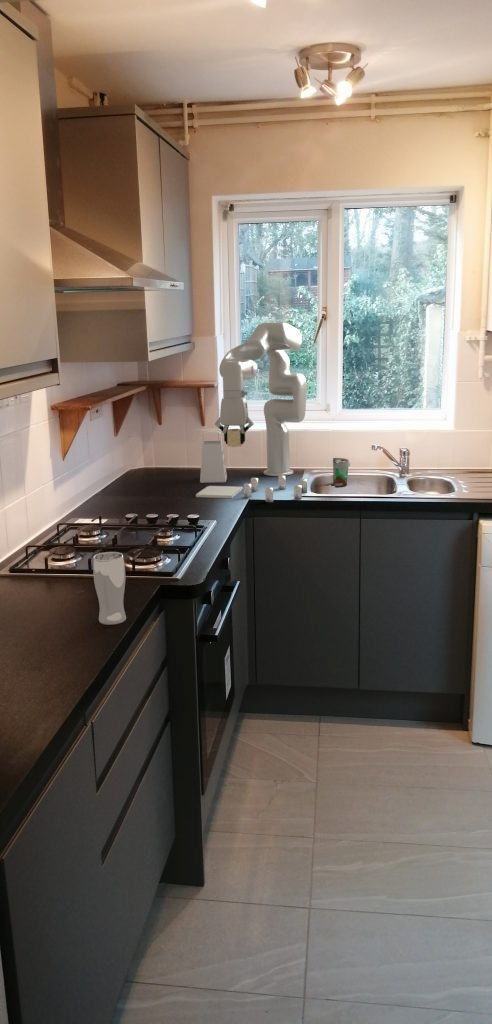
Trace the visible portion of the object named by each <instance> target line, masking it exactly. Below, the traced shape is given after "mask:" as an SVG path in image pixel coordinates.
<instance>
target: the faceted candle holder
mask: <svg viewBox="0 0 492 1024" xmlns="http://www.w3.org/2000/svg"><path fill="white" fill-rule="evenodd" d="M240 434H241V430H240V428H228V430H227V444H226V445H227V447H232V448H239V447H242V446H243V444H241V443H240Z"/></svg>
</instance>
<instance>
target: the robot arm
mask: <svg viewBox="0 0 492 1024" xmlns="http://www.w3.org/2000/svg"><path fill="white" fill-rule="evenodd" d="M302 340H303V338H302V334H301V332H300V330H299V329H298V328H296V327H294V326H293V325H291V324H288V323H287V322H280V321H279V322H278V321H277V322H262V323H260V324H258V325H257V326H256V327H255V329H254V330H253V332H252V333H251V335H250V336H249V337H248V338H247V340H246V341H245V342H243V343H241V344H239V345H237V346H235V347H234V348H231V349H230V350H229V351H228V352H226V354H225V355H224V357H223V358H222V359H221V362H220V364H219V367H218V368H219V369H218V371H219V375H220V377H221V378H222V394H223V396H222V398H221V402H220V410H219V417H218V419H216V421H215V422H214V425H215V426H216V427H217V428H219V430H220V432H221V433H223V440H224V443H225V445H228V444H227V430H229V429H230V427H231V426H233V427H235V426H236V427H237V426H238V427H239V429H240V430H241V434H240V443H241V444H242V445H244V444H245V442H246V432H247V431H248V430H249V429H250V428H252V426H254V425H255V423H254V422H253V420H252V419H251V418H250V417H249V410H248V409H249V408H248V402H247V397H245V396H248V391H245V389H244V380H247V381H248V380H252V379H253V378H255V377H256V376H257V374H258V371H259V370H258V364H257V363H256V360H259V359H261V358H262V357H264V356H265V355H266V354H267V357H268V363H269V366H268V367H269V370H268V371H269V372H268V390H269V393H270V394H271V395H273V396H279V397H280V396H281V397H292V398H291V399H289V398H288V399H287V398H286V399H285V398H274V399H273V398H272V399H269V400H267V401H266V402H265V403H264V405H263V416H264V420H265V427H266V462H267V463H266V469H265V470H263V475H265V476H271V477H278V476H285V477H286V476H291V475H293V474H294V470H293V469H290V466H291V464H290V461H291V460H290V432H289V428H288V426H287V425H286V424H285V423H294V424H295V423H301V422H303V420H304V419H305V416H306V411H307V409H306V407H307V387H308V386H307V379H306V377H305V375H304V374H302V373H300V372H291V361H290V357H289V356H288V354H287V353H286V352H285V351H297V350H298V349H299V348H300V347H301V346H302V343H303V342H302Z"/></svg>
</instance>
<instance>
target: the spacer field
mask: <svg viewBox="0 0 492 1024" xmlns="http://www.w3.org/2000/svg"><path fill="white" fill-rule="evenodd" d="M277 478H278V479H277V480H278V481H277V483H278V485H277V486H278V490H282V491H283V490H286V486H287V485H286V476H277ZM252 491H254V492H253V493H257V492H256V491H258V492H259V477H251V478H250V483H247V482H246V483H243V498H244V497H245V498H244V499H249V498H248V497H251V498H252ZM307 493H308V479H307V478H300V479H299V484H294V485H293V499H294V500H295V499H296V501H297V500H302V499H303V497H302V496H303V494H307ZM264 494H265V498H264V499H265V502H266V503H273V502H274V488H273V487H272V486H266V487H264Z"/></svg>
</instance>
